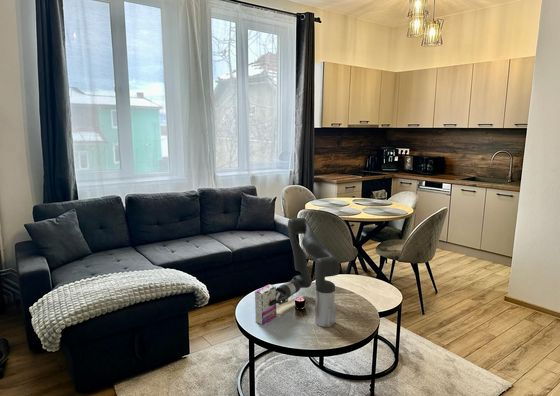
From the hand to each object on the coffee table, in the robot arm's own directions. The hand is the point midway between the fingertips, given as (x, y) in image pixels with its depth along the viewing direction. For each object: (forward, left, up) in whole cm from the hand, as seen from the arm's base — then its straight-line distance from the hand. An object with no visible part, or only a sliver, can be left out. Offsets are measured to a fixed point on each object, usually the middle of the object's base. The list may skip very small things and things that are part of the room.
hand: (265, 302), depth 188 cm
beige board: (+2, -17, -9) cm, 19 cm away
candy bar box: (0, 0, -9) cm, 9 cm away
